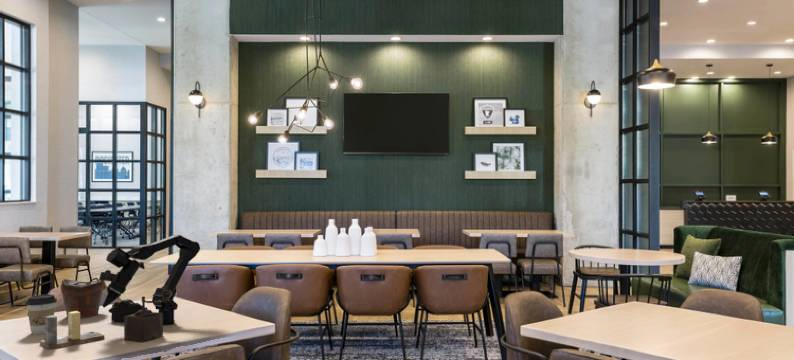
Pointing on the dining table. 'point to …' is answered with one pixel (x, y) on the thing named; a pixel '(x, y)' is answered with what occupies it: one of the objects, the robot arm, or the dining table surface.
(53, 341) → the gauge board
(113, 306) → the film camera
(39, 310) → the coffee cup
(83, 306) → the brown wicker basket
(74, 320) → the leg
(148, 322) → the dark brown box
